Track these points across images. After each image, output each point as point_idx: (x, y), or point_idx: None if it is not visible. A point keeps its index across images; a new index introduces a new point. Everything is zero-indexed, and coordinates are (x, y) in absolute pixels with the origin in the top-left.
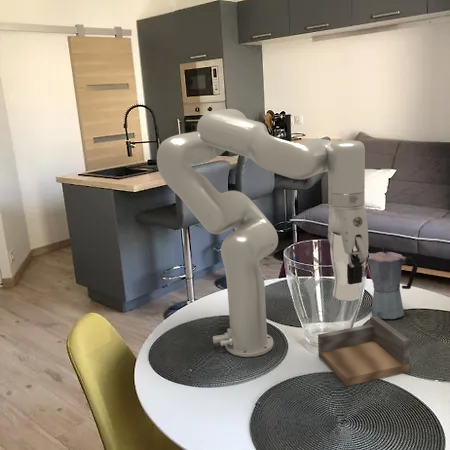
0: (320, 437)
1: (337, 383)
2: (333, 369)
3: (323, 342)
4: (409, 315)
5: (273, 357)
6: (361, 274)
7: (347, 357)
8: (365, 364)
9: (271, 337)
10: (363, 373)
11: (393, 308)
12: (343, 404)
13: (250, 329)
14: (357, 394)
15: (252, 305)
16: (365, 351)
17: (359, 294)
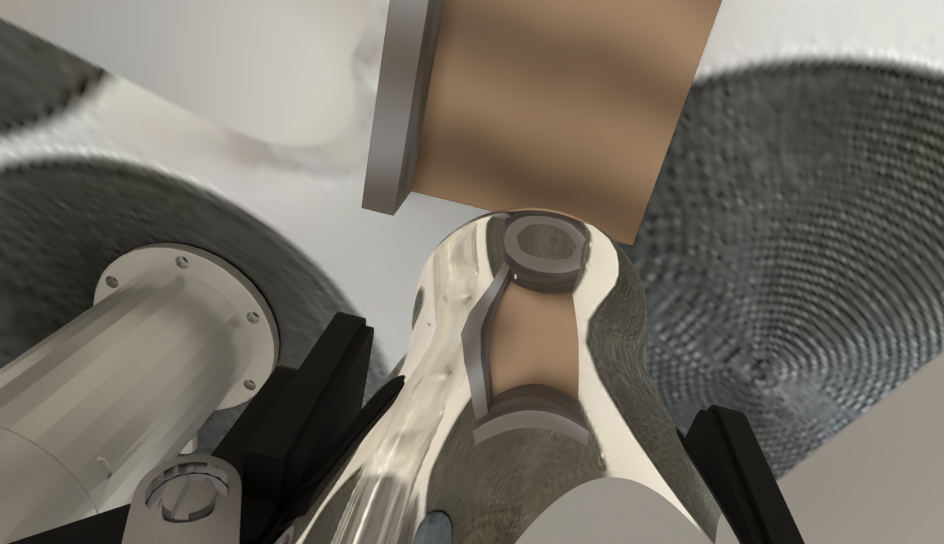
0: None
1: None
2: None
3: (402, 194)
4: None
5: (310, 309)
6: (771, 482)
7: (511, 128)
8: (607, 104)
9: (186, 254)
10: (654, 166)
11: None
12: (699, 311)
13: (203, 417)
14: (693, 236)
15: (135, 489)
16: (520, 14)
17: (639, 285)
